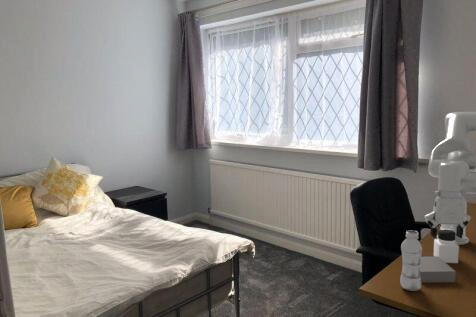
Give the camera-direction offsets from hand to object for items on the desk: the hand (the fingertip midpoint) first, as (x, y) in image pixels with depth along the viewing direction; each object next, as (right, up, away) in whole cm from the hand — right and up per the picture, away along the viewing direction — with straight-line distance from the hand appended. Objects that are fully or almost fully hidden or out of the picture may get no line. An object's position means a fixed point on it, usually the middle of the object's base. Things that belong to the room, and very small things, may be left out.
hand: (446, 237), depth 152 cm
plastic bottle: (-23, -14, -21) cm, 34 cm away
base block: (-12, -12, -10) cm, 19 cm away
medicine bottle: (+1, -10, +2) cm, 10 cm away
